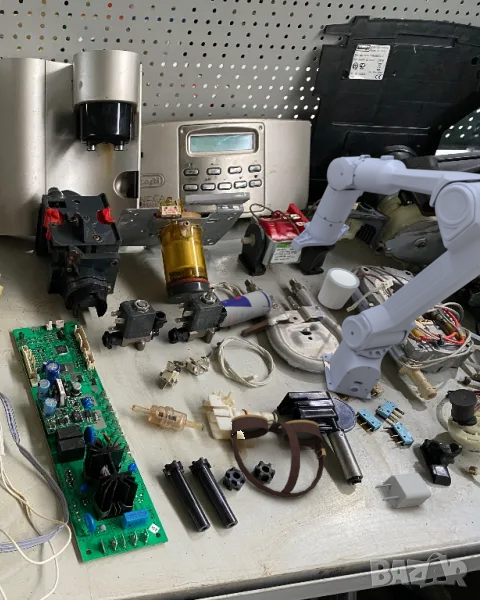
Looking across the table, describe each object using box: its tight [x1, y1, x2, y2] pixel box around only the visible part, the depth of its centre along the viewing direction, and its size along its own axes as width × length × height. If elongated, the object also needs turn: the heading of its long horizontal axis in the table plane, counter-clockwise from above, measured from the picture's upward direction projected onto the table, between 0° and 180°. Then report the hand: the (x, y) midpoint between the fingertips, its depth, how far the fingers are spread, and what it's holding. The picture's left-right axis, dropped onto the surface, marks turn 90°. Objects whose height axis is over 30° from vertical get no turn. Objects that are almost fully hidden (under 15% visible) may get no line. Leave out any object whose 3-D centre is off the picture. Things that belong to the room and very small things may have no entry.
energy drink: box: [219, 289, 273, 328], centre depth 111 cm, size 5×5×12 cm
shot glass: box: [317, 267, 361, 310], centre depth 117 cm, size 7×7×7 cm
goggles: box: [229, 413, 327, 499], centre depth 84 cm, size 15×13×10 cm
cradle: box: [240, 288, 284, 339], centre depth 113 cm, size 13×9×2 cm
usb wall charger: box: [374, 472, 432, 509], centre depth 83 cm, size 4×7×4 cm, turn 99°
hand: (304, 268), depth 111 cm, fingers closed
